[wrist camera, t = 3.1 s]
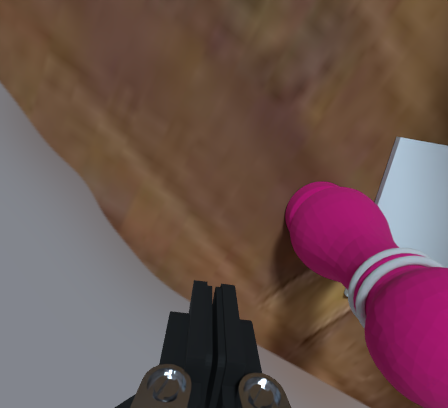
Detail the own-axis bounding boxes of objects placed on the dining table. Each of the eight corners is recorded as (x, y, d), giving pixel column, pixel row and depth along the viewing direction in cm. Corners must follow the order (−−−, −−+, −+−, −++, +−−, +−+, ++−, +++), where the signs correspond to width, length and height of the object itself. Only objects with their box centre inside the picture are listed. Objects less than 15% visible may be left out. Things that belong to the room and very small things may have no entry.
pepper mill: (371, 201, 28) (717, 402, 9) (324, 260, 30) (527, 536, 10) (310, 160, 26) (561, 295, 7) (264, 225, 28) (372, 470, 9)
